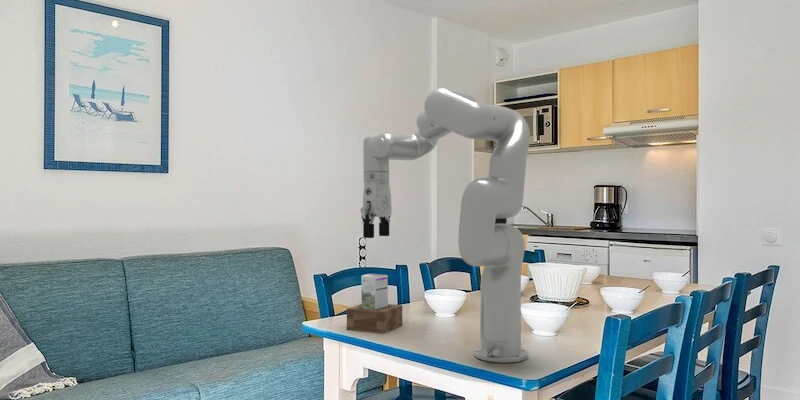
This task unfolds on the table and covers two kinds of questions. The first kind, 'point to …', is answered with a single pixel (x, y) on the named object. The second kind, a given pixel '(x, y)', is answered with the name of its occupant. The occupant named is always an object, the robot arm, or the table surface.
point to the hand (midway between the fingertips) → (376, 236)
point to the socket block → (374, 319)
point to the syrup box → (374, 291)
